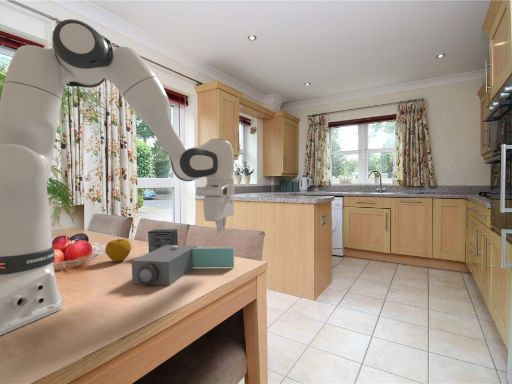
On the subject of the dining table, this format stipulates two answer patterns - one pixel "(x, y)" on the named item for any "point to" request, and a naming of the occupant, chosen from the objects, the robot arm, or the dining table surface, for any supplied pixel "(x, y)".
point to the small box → (162, 238)
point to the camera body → (162, 265)
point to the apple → (118, 249)
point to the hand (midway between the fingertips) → (221, 231)
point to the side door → (212, 257)
